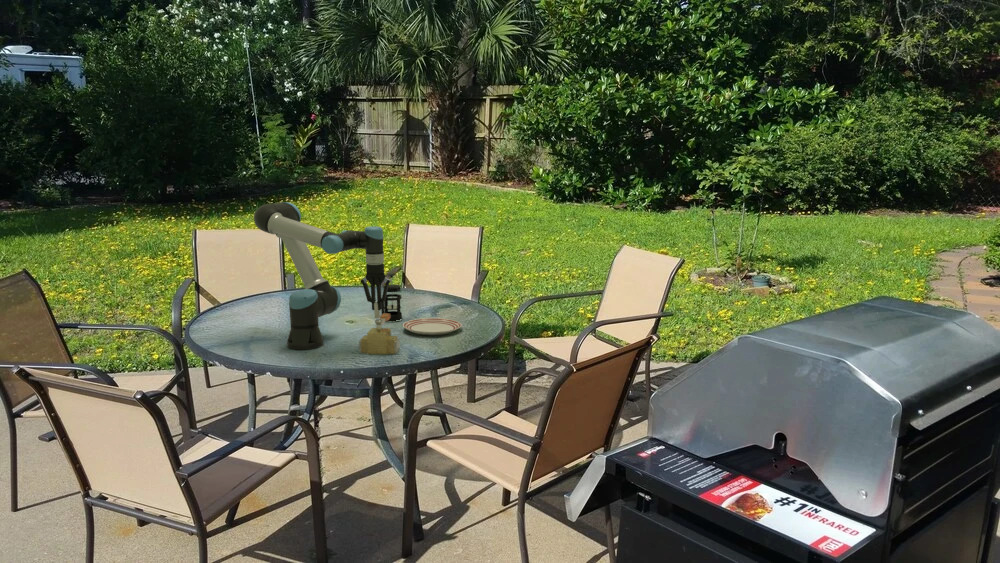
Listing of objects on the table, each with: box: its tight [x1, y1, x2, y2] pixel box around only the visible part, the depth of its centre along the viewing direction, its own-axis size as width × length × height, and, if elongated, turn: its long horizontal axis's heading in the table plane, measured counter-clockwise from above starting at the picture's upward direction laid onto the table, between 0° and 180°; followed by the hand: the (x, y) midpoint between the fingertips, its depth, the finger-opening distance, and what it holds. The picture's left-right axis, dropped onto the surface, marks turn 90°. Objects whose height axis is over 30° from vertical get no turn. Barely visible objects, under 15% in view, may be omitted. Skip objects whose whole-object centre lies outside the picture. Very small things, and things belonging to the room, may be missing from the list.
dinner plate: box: [402, 317, 463, 336], centre depth 343 cm, size 27×27×3 cm
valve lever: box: [374, 312, 390, 331], centre depth 313 cm, size 3×16×4 cm, turn 175°
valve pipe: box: [358, 327, 401, 356], centre depth 308 cm, size 16×8×9 cm, turn 85°
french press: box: [380, 273, 403, 321], centre depth 359 cm, size 12×9×23 cm
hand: (377, 317), depth 317 cm, fingers closed
